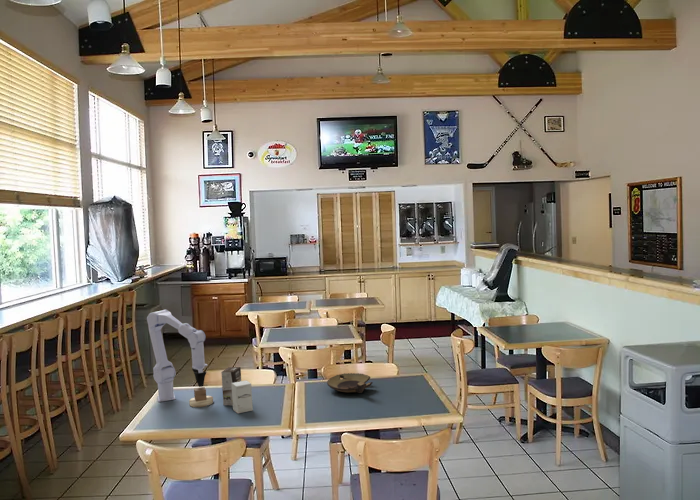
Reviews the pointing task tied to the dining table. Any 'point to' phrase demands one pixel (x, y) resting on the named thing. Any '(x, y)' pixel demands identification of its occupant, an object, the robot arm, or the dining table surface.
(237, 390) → the supplement box
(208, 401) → the birch board
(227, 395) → the coffee box
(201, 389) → the walnut block
